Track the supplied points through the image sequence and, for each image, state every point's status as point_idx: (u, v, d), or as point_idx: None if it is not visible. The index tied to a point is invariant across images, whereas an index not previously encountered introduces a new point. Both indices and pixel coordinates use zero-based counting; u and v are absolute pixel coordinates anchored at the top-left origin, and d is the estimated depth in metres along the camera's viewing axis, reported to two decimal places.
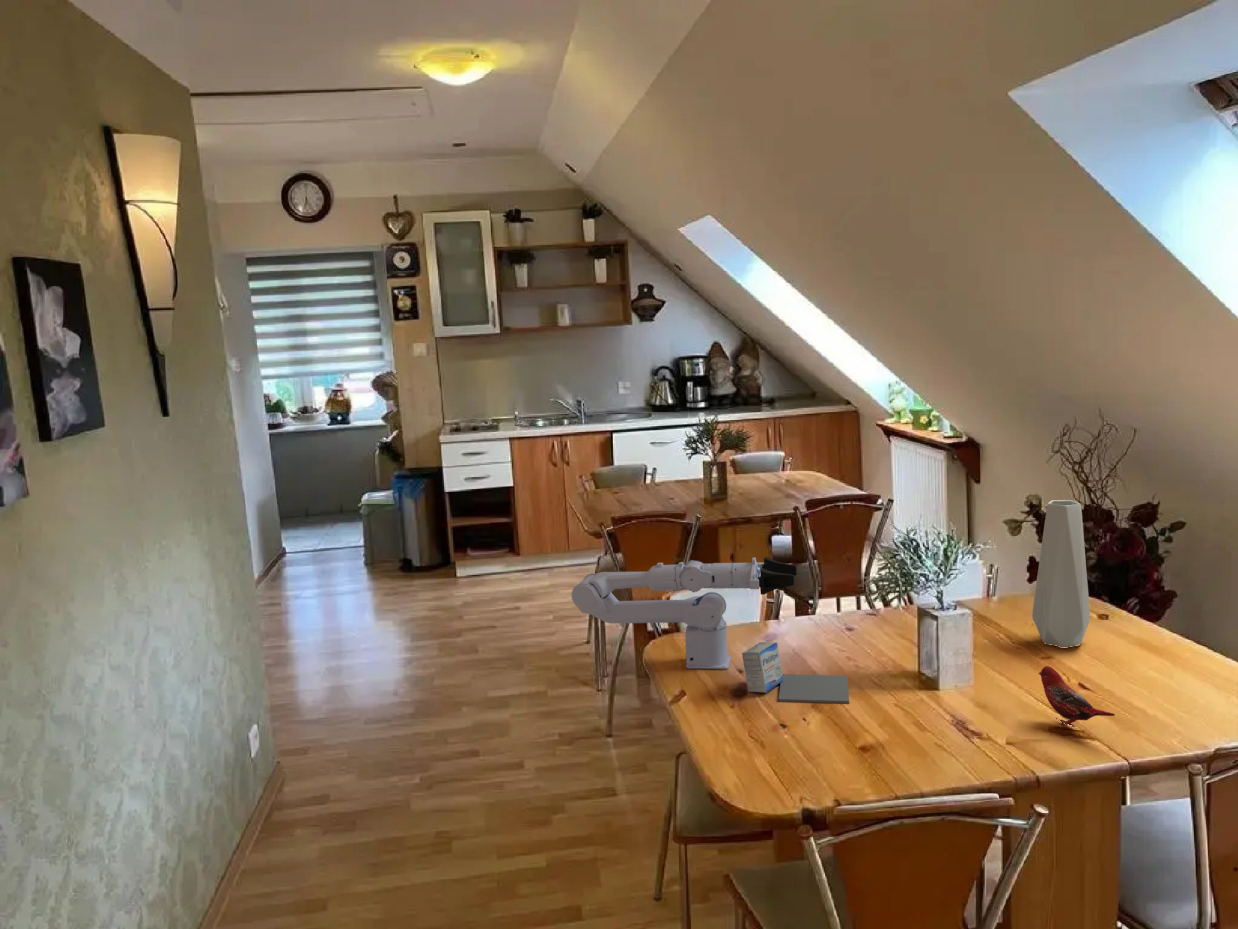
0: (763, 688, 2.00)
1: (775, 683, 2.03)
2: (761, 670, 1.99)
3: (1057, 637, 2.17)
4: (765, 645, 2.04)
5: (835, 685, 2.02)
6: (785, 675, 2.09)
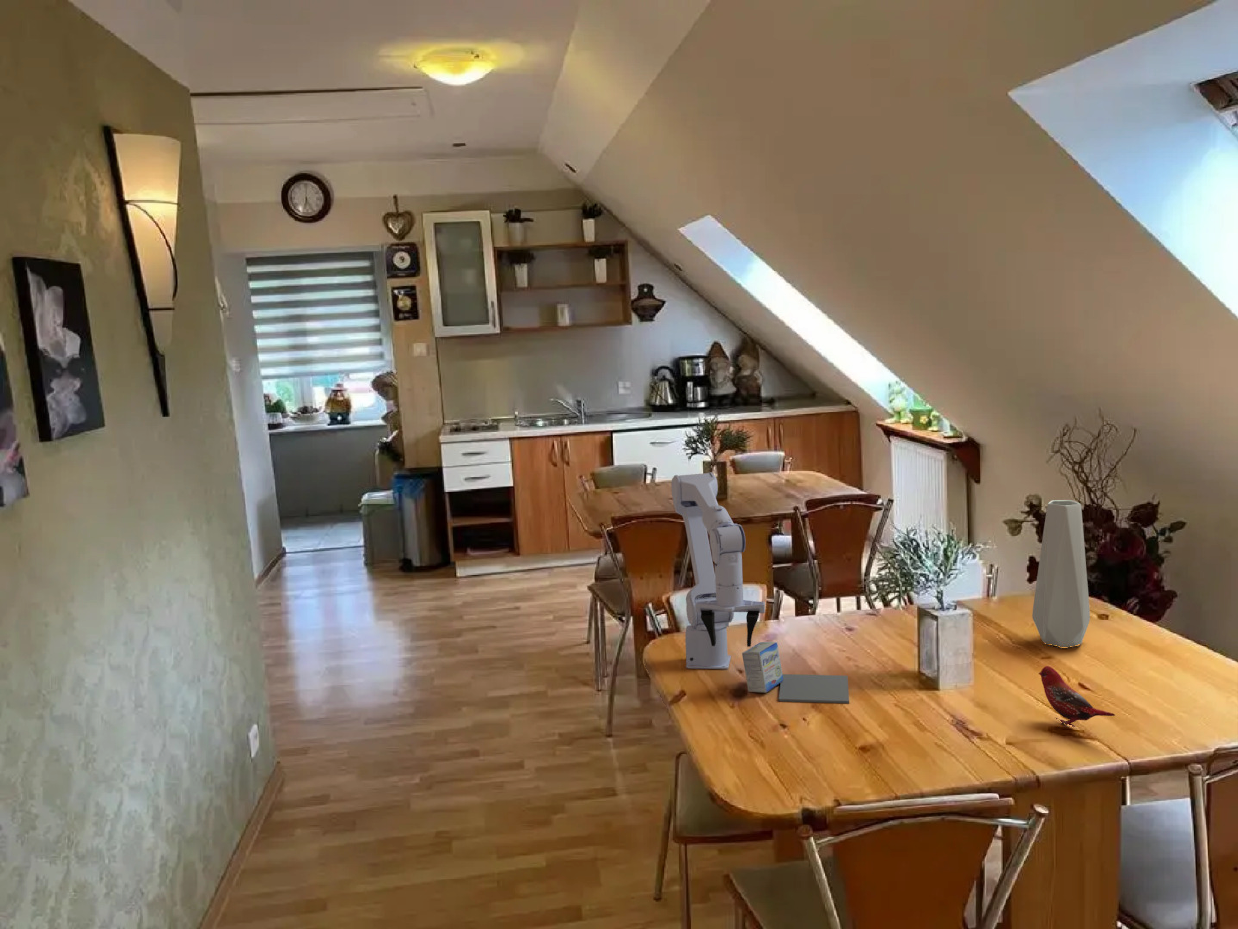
0: (763, 688, 2.00)
1: (775, 683, 2.03)
2: (761, 670, 1.99)
3: (1057, 637, 2.17)
4: (765, 645, 2.04)
5: (835, 685, 2.02)
6: (785, 675, 2.09)
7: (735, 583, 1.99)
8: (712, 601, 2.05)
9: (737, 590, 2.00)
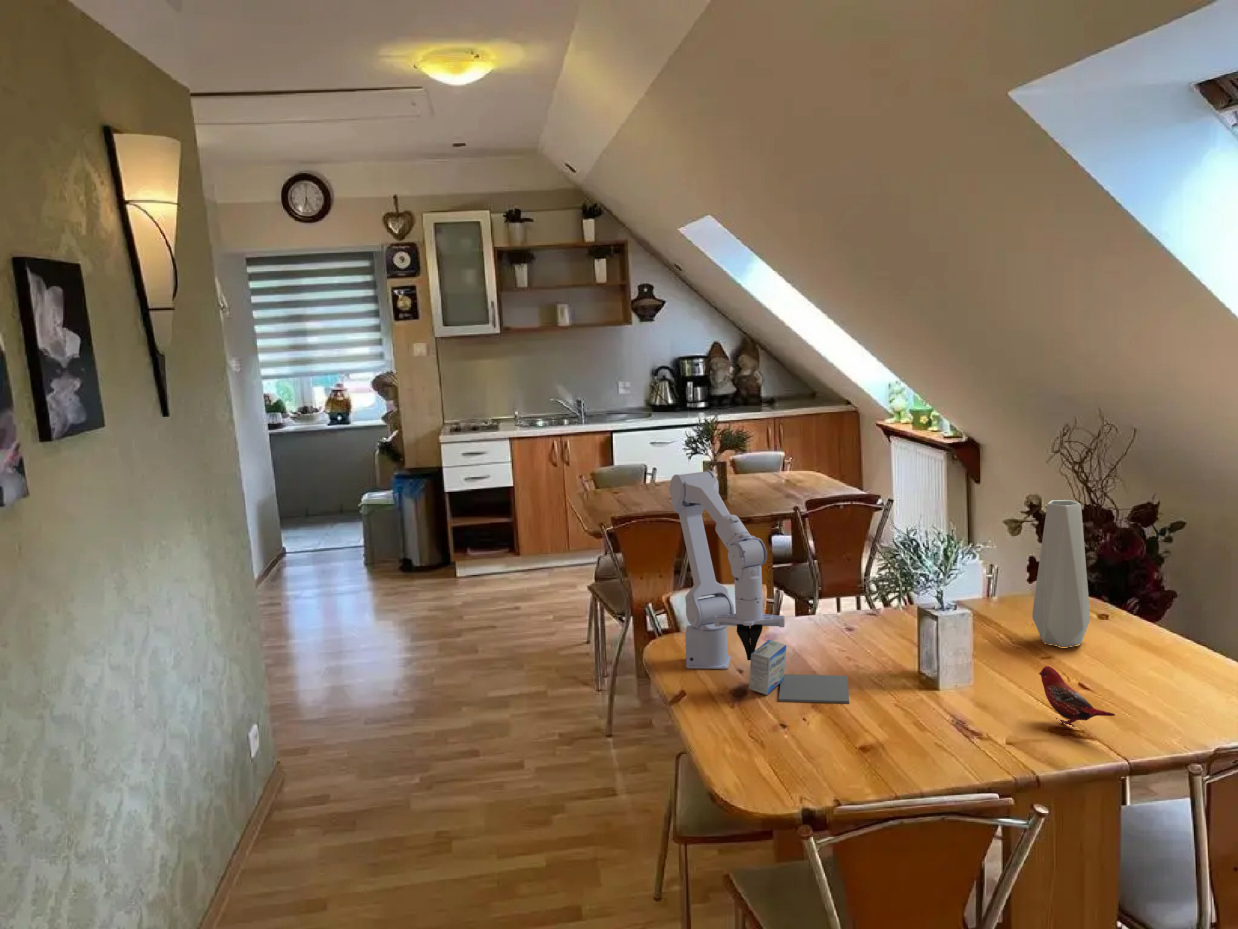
0: (765, 691, 1.99)
1: (776, 685, 2.02)
2: (767, 674, 1.98)
3: (1057, 637, 2.17)
4: (775, 647, 2.01)
5: (835, 685, 2.02)
6: (785, 675, 2.09)
7: (757, 597, 1.99)
8: (731, 615, 2.05)
9: (757, 604, 1.99)
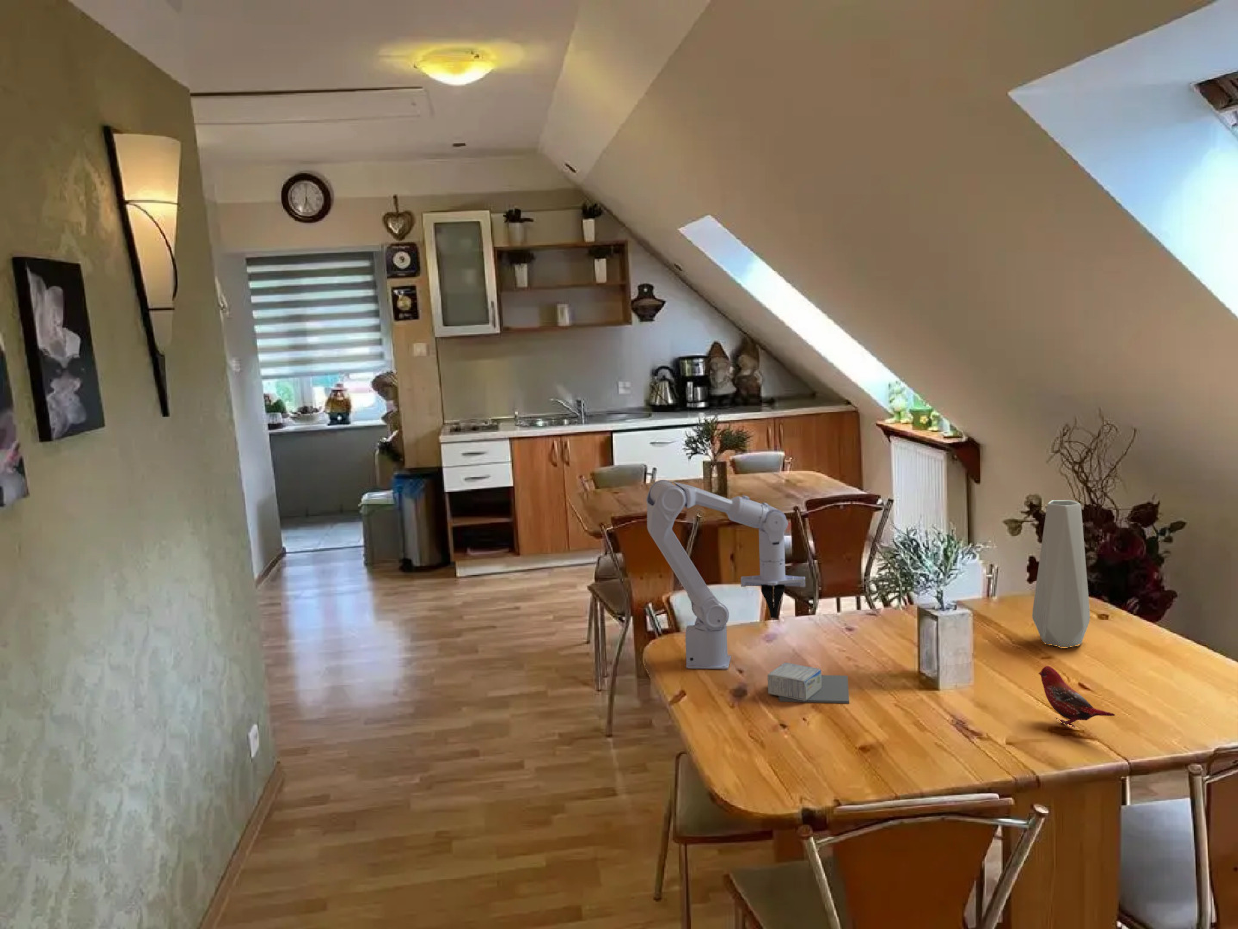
0: (771, 692, 1.99)
1: None
2: (789, 697, 1.96)
3: (1057, 637, 2.17)
4: (816, 687, 1.98)
5: (835, 685, 2.02)
6: None
7: None
8: (756, 576, 2.23)
9: (780, 566, 2.17)
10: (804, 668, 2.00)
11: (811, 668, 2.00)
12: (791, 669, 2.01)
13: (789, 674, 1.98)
